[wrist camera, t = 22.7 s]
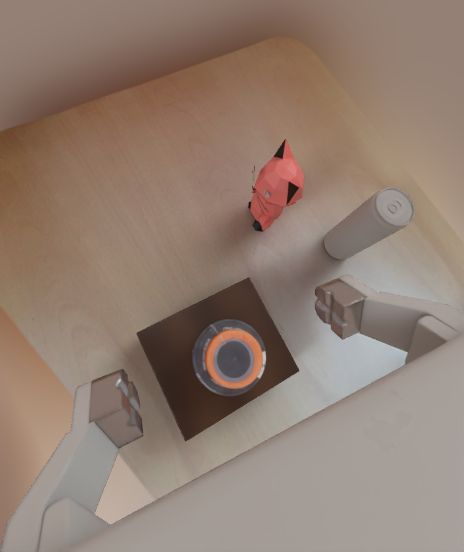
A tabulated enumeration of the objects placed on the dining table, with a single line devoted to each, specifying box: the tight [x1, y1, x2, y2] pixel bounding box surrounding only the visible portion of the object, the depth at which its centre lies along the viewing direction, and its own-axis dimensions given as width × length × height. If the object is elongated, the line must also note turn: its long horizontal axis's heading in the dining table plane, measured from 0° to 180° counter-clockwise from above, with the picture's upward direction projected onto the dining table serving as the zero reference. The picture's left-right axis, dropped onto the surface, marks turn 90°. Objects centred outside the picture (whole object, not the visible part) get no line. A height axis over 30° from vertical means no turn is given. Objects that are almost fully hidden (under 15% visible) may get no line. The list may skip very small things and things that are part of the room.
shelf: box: [137, 278, 299, 441], centre depth 32 cm, size 14×12×5 cm
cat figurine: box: [248, 139, 304, 231], centre depth 34 cm, size 7×7×12 cm
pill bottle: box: [192, 319, 266, 396], centre depth 24 cm, size 6×6×11 cm
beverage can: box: [324, 187, 415, 260], centre depth 34 cm, size 5×5×12 cm
